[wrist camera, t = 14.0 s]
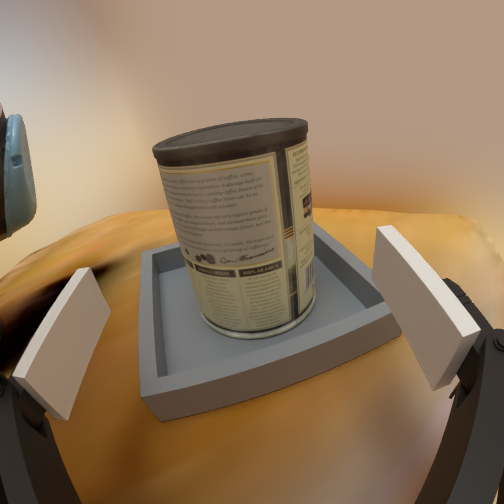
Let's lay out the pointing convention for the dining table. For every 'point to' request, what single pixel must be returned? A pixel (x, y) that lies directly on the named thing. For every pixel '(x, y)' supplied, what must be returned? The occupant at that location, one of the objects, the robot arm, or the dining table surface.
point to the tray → (250, 350)
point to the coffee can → (244, 222)
